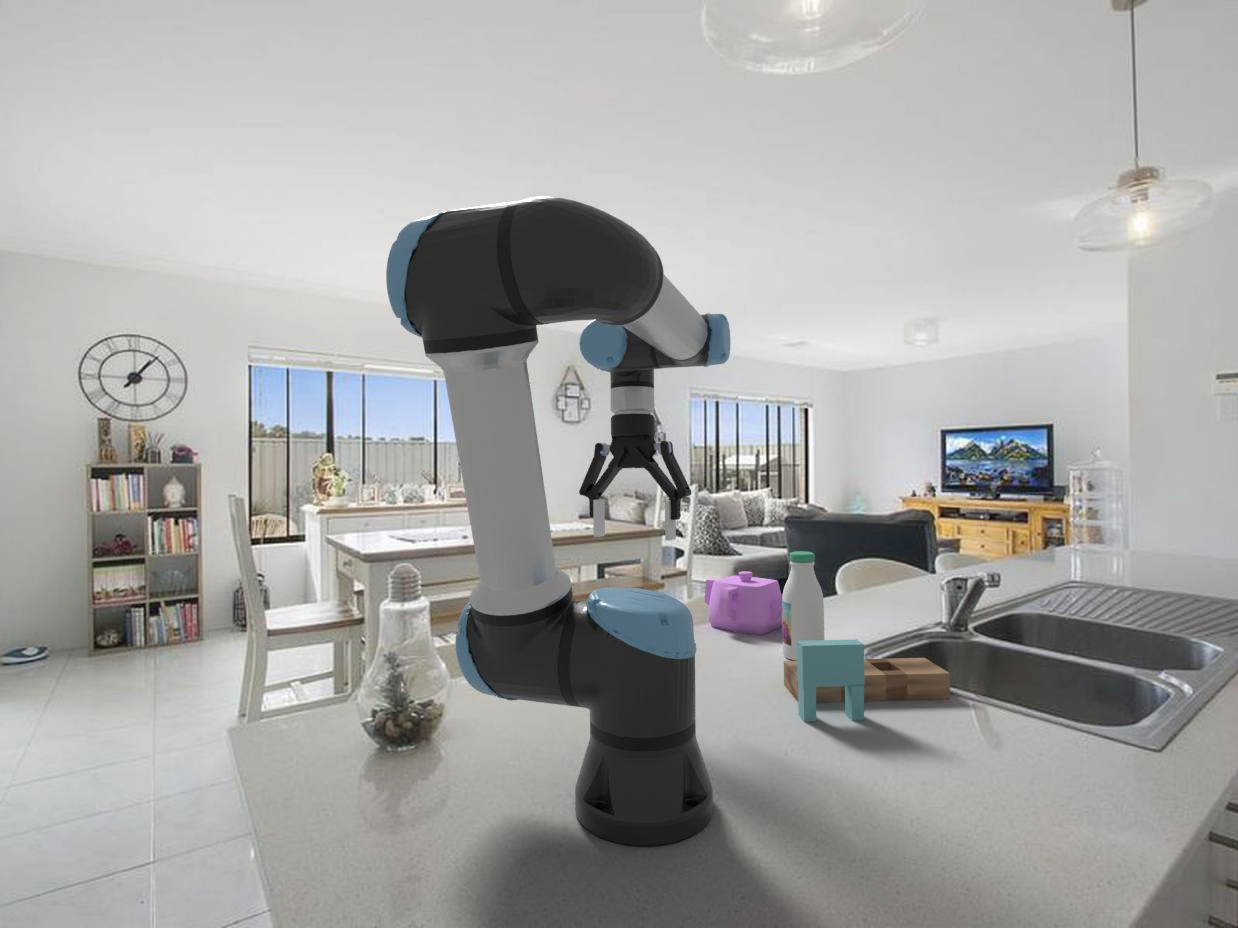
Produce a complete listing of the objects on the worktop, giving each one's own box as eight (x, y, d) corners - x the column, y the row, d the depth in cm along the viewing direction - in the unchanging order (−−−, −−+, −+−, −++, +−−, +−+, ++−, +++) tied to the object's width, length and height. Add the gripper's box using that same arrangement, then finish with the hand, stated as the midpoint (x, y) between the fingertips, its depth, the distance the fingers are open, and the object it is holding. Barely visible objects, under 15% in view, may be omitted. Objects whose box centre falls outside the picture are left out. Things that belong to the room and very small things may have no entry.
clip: (864, 719, 94) (863, 644, 94) (803, 721, 94) (802, 645, 94) (857, 712, 97) (856, 639, 97) (797, 714, 97) (796, 640, 97)
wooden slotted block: (950, 698, 102) (949, 673, 102) (798, 702, 101) (798, 676, 101) (924, 681, 110) (924, 657, 110) (784, 684, 109) (783, 660, 109)
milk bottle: (829, 654, 126) (828, 551, 126) (818, 665, 119) (816, 556, 119) (790, 648, 130) (788, 548, 130) (777, 659, 123) (775, 553, 123)
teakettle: (701, 618, 156) (700, 567, 156) (770, 615, 158) (769, 564, 158) (719, 637, 139) (719, 580, 139) (796, 634, 141) (795, 577, 141)
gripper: (709, 412, 109) (710, 538, 109) (581, 418, 121) (582, 533, 120) (693, 408, 102) (694, 543, 102) (559, 416, 114) (560, 537, 114)
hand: (633, 538), depth 111 cm, fingers open, 13 cm apart
